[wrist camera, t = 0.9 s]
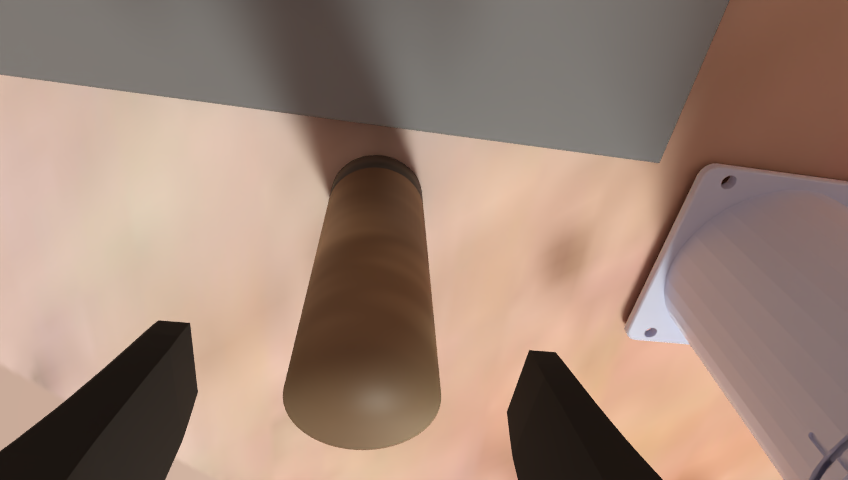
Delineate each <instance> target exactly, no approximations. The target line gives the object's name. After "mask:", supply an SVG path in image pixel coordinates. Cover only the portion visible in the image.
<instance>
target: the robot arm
mask: <svg viewBox="0 0 848 480" xmlns="http://www.w3.org/2000/svg"><path fill="white" fill-rule="evenodd" d="M727 176H730V179H729V180H728V181H727V182H726V183H724V184H721V183H722V181H723V179H724V178H726V177H727ZM649 328H651V329H650V330H648V331H646V330H647V329H649ZM624 329H625V332H626V333H627V335H628V337H629V338H631V339H634V340H645V341H656V342H667V343H679V344H690V346H691V347H692V348H693V350H694V351H695V353H696V354H697V356H698V357H699V358H700V360H701V361H702V363H703V364H704V366H705V367H706V369H707V370H708V371H709V373H710V374H711V376H712V377H713V379H714V380H715V381H716V383H717V384H718V386H719V387H720V389H721V390H722V392H723V393H724V394H725V396H726V397H727V399H728V400H729V402H730V403H731V404H732V406H733V407H734V409H735V410H736V412H737V413H738V415H739V416H740V417H741V419H742V420H743V422H744V423H745V425H746V426H747V427H748V429H749V430H750V432H751V433H752V435H753V436H754V438H755V439H756V440H757V442H758V443H759V445H760V446H761V448H762V449H763V450H764V452H765V453H766V455H767V456H768V458H769V459H770V461H771V462H772V463H773V465H774V466H775V468H776V469H777V471H778V472H779V473H780V475H781V476H782V478H783V479H784V480H848V181H842V180H835V179H828V178H820V177H813V176H806V175H798V174H791V173H784V172H776V171H769V170H762V169H754V168H747V167H740V166H732V165H725V164H718V163H715V164H709V165H707V166H705V167H704V168H702V169H701V170H700V172H699V173H698V174H697V176H696V178H695V180H694V183H693V185H692V187H691V189H690V191H689V193H688V195H687V197H686V199H685V201H684V203H683V206H682V208H681V210H680V212H679V214H678V216H677V218H676V220H675V222H674V224H673V226H672V228H671V231H670V233H669V235H668V237H667V239H666V241H665V243H664V245H663V247H662V249H661V251H660V253H659V256H658V258H657V260H656V262H655V264H654V266H653V268H652V270H651V272H650V274H649V276H648V278H647V281H646V283H645V285H644V287H643V289H642V291H641V293H640V295H639V297H638V299H637V301H636V303H635V306H634V308H633V310H632V312H631V314H630V316H629V318H628V320H627V322H626V324H625V328H624ZM197 393H198V390H197V381H196V372H195V363H194V355H193V346H192V337H191V328H190V323H183V322H171V321H157V322H156V323H155V324H153V325H152V326H151V327H150V328H149V329H148V330H146V331H145V332H144V333H143V334H142V335H141V336H140V337H139V338H137V339H136V340H135V341H134V342H133V343H132V344H131V345H130V346H129V347H127V348H126V349H125V350H124V351H123V352H122V353H121V354H120V355H118V356H117V357H116V358H115V359H114V360H113V361H112V362H110V363H109V364H108V365H107V366H106V367H105V368H104V369H103V370H101V371H100V372H99V373H98V374H97V375H95V376H94V377H93V378H92V379H91V380H90V381H88V382H87V383H86V384H85V385H84V386H82V387H81V388H80V389H79V390H78V391H76V392H75V393H74V394H73V395H72V396H71V397H69V398H68V399H67V400H66V401H65V402H63V403H62V404H61V405H60V406H58V407H57V408H56V409H55V410H53V411H52V412H51V413H49V414H48V415H47V416H46V417H44V418H43V419H42V420H41V421H39V422H38V423H37V424H35V425H34V426H33V427H31V428H30V429H29V430H28V431H26V432H25V433H24V434H22V435H21V436H20V437H19V438H17V439H16V440H15V441H13V442H12V443H11V444H9V445H8V446H7V447H5V448H4V449H3V450H1V451H0V480H165V479H166V476H167V474H168V472H169V470H170V467H171V465H172V463H173V461H174V458H175V456H176V454H177V452H178V449H179V447H180V445H181V443H182V440H183V437H184V434H185V431H186V428H187V425H188V422H189V419H190V416H191V413H192V409H193V406H194V403H195V400H196V396H197ZM507 416H508V425H509V434H510V442H511V449H512V456H513V461H514V465H515V469H516V473H517V477H518V480H663V479H662V478H661V477H660V476H659V475H658V474H657V473H656V472H655V471H654V470H653V469H652V468H651V466H650V465H649V464H648V463H647V462H646V461H645V460H644V459H643V458H642V457H641V456H640V455H639V453H638V452H637V451H636V450H635V449H634V448H633V447H632V446H631V444H630V443H629V442H628V441H627V440H626V439H625V437H624V436H623V435H622V434H621V433H620V432H619V430H618V429H617V428H616V427H615V426H614V425H613V423H612V422H611V421H610V420H609V419H608V417H607V416H606V415H605V414H604V412H603V411H602V410H601V409H600V408H599V406H598V405H597V404H596V403H595V401H594V400H593V399H592V398H591V396H590V395H589V394H588V393H587V391H586V390H585V389H584V388H583V386H582V385H581V384H580V382H579V381H578V380H577V379H576V377H575V376H574V375H573V374H572V372H571V371H570V370H569V368H568V367H567V366H566V365H565V363H564V362H563V361H562V360H561V358H560V357H559V356H558V355H557V353H556V352H544V351H532V350H529V353H528V355H527V358H526V361H525V364H524V366H523V369H522V372H521V375H520V377H519V380H518V383H517V386H516V388H515V391H514V394H513V397H512V399H511V402H510V405H509V408H508V411H507Z"/></svg>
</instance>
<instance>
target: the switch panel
mask: <svg viewBox="0 0 848 480" xmlns="http://www.w3.org/2000/svg"><path fill="white" fill-rule="evenodd" d="M728 3H729V0H0V75H7V76H15V77H22V78H30V79H37V80H45V81H52V82H60V83H67V84H74V85H82V86H89V87H97V88H104V89H112V90H119V91H126V92H134V93H141V94H149V95H156V96H164V97H171V98H179V99H186V100H193V101H201V102H208V103H216V104H223V105H231V106H238V107H246V108H253V109H260V110H268V111H275V112H283V113H290V114H298V115H305V116H313V117H320V118H327V119H335V120H342V121H350V122H357V123H365V124H372V125H379V126H387V127H394V128H402V129H409V130H417V131H424V132H432V133H439V134H446V135H454V136H461V137H469V138H476V139H484V140H491V141H499V142H506V143H513V144H521V145H528V146H536V147H543V148H551V149H558V150H566V151H573V152H580V153H588V154H595V155H603V156H610V157H618V158H625V159H633V160H640V161H647V162H655V163H660V160H661V158H662V156H663V153H664V151H665V149H666V146H667V144H668V142H669V139H670V137H671V135H672V133H673V130H674V128H675V126H676V123H677V121H678V119H679V116H680V114H681V112H682V109H683V107H684V105H685V102H686V100H687V98H688V95H689V93H690V91H691V88H692V86H693V84H694V82H695V79H696V77H697V75H698V72H699V70H700V68H701V65H702V63H703V61H704V58H705V56H706V54H707V51H708V49H709V47H710V44H711V42H712V40H713V37H714V35H715V33H716V31H717V28H718V26H719V24H720V21H721V19H722V17H723V14H724V12H725V10H726V7H727V5H728Z"/></svg>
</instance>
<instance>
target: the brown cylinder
mask: <svg viewBox="0 0 848 480" xmlns="http://www.w3.org/2000/svg"><path fill="white" fill-rule="evenodd" d="M283 403H284V406H285V410H286V412H287V414H288V416H289V417H290V419H291V420H292V422H293V423H294V424H295V425H296V426H297V427H298V428H299V429H300V430H302V431H303V432H304V433H305V434H307V435H309V436H310V437H312V438H314V439H316V440H318V441H320V442H323V443H325V444H328V445H331V446H335V447H339V448H345V449H353V450H373V449H381V448H386V447H390V446H394V445H397V444H400V443H403V442H405V441H407V440H410V439H411V438H413V437H415V436H417V435H418V434H419V433H421V432H422V431H424V430H425V429H426V428H427V427H428V426H429V425H430V424H431V422H432V421H433V420H434V418H435V416H436V415H437V413H438V410H439V407H440V403H441V389H440V378H439V368H438V357H437V347H436V336H435V326H434V315H433V305H432V294H431V284H430V273H429V263H428V252H427V242H426V231H425V221H424V210H423V200H422V191H421V186H420V184H419V181H418V179H417V177H416V176H415V174H414V173H413V172H412V171H411V170H410V169H409V168H408V167H407V166H406V165H405V164H403V163H401V162H400V161H398V160H396V159H393V158H390V157H386V156H378V155H373V156H365V157H361V158H358V159H356V160H354V161H352V162H350V163H349V164H347V165H346V166H345V167H344V168H342V170H341V171H340V172H339V173H338V175H337V176H336V178H335V180H334V183H333V186H332V190H331V194H330V198H329V202H328V206H327V210H326V215H325V219H324V223H323V227H322V231H321V235H320V240H319V244H318V248H317V252H316V256H315V260H314V264H313V269H312V273H311V277H310V281H309V285H308V289H307V294H306V298H305V302H304V306H303V310H302V314H301V318H300V323H299V327H298V331H297V335H296V339H295V343H294V348H293V352H292V356H291V360H290V364H289V368H288V372H287V377H286V381H285V385H284V390H283Z"/></svg>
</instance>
